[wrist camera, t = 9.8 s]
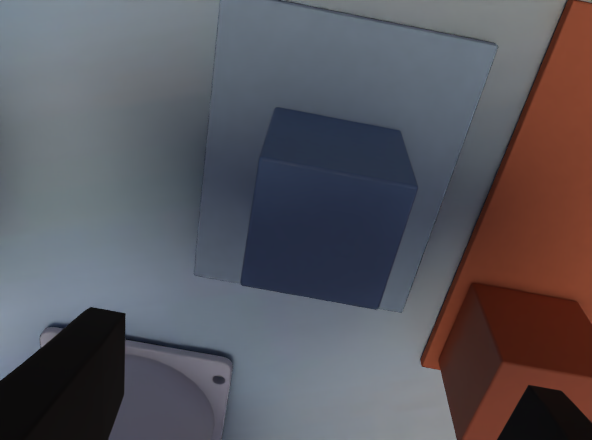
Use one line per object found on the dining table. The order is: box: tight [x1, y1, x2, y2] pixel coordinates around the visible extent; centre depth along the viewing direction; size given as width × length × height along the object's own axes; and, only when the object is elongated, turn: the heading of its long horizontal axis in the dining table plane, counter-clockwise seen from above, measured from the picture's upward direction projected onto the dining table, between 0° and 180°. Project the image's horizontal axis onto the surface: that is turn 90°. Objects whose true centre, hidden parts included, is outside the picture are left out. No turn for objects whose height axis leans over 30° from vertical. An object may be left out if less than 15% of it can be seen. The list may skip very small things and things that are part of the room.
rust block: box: [438, 283, 592, 440], centre depth 18 cm, size 4×4×4 cm
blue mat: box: [194, 0, 498, 313], centre depth 17 cm, size 10×8×1 cm
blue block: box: [240, 107, 418, 310], centre depth 15 cm, size 4×4×4 cm
